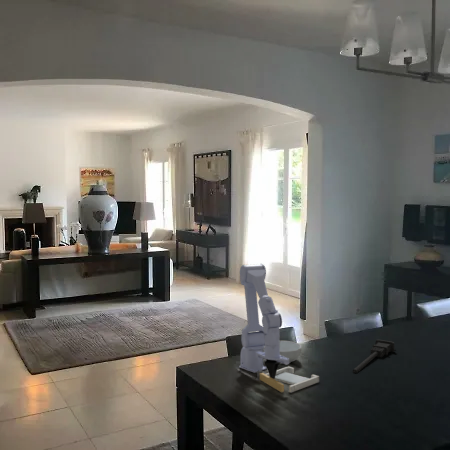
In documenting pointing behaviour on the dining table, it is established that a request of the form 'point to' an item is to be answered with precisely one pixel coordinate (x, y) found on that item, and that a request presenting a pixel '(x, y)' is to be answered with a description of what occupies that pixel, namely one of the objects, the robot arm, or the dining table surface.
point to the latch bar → (270, 381)
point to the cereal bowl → (289, 350)
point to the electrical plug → (377, 352)
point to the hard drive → (289, 378)
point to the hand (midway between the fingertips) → (272, 378)
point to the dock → (296, 386)
